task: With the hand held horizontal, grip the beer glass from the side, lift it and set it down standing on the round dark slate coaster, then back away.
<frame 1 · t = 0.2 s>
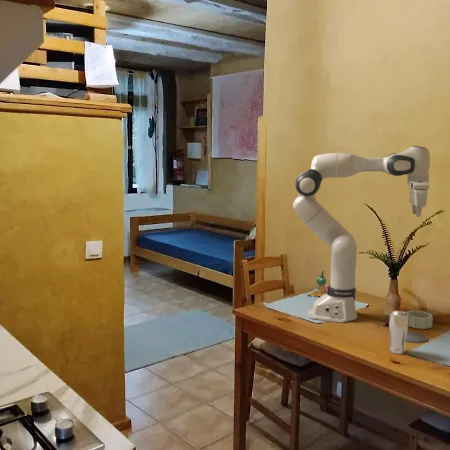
hand: (416, 215, 220), 48 cm above the table, fingers open, 8 cm apart
bowl: (418, 325, 221), on the table
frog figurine: (323, 295, 268), on the table
coaster: (412, 337, 207), on the table
beer glass: (397, 351, 193), on the table
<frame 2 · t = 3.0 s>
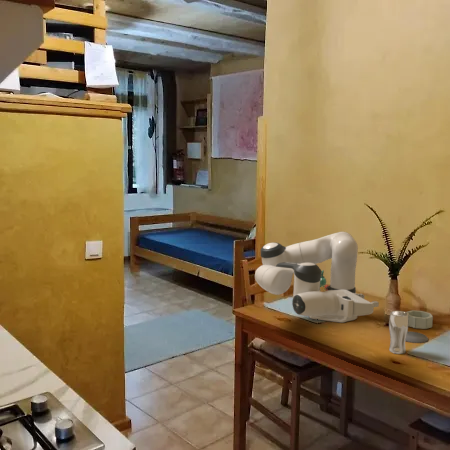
hand: (370, 300, 186), 21 cm above the table, fingers open, 8 cm apart
nothing on the table moved.
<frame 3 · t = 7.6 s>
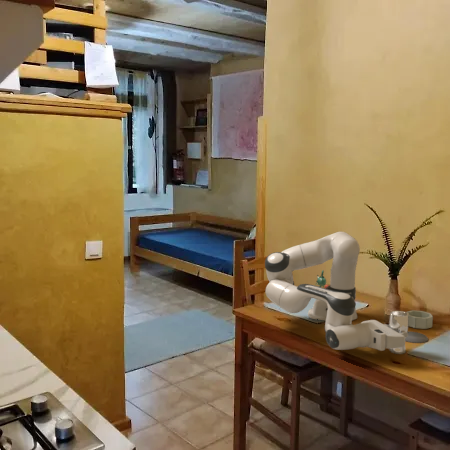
hand: (400, 330, 192), 8 cm above the table, fingers closed on beer glass, 6 cm apart
beer glass: (397, 351, 193), on the table, touching gripper
everything else where it was.
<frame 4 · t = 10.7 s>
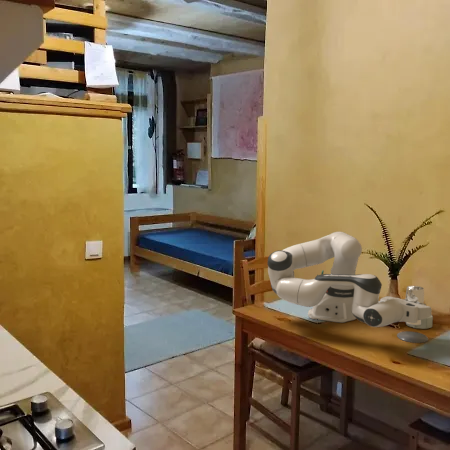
hand: (415, 303, 205), 15 cm above the table, fingers closed on beer glass, 6 cm apart
beer glass: (413, 323, 205), point 6 cm above the table, touching gripper
everything else where it was.
when the fingers open (10 cm above the table, at t = 12.1 s): beer glass moves 2 cm, resting on coaster.
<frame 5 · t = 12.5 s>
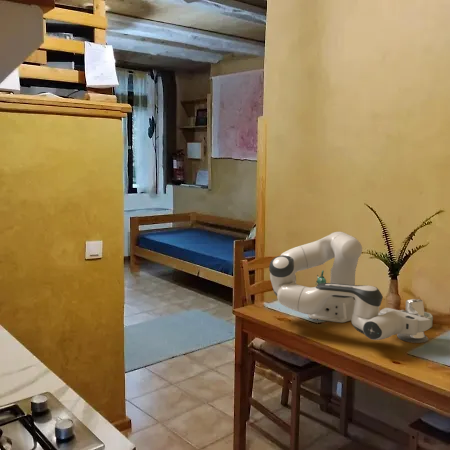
hand: (414, 314, 206), 10 cm above the table, fingers open, 8 cm apart
beer glass: (416, 337, 205), point 1 cm above the table, touching coaster, gripper
everything else where it was.
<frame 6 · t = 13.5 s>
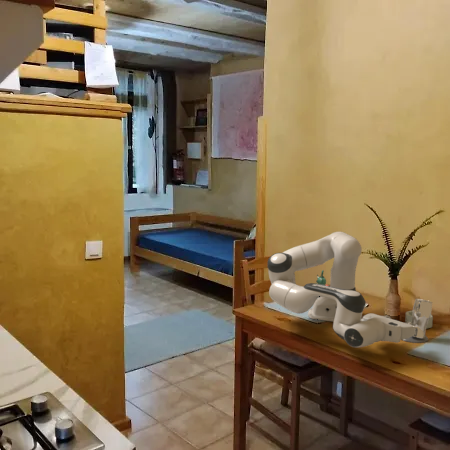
hand: (399, 320, 199), 9 cm above the table, fingers open, 8 cm apart
beer glass: (416, 336, 205), point 1 cm above the table, touching coaster
everything else where it was.
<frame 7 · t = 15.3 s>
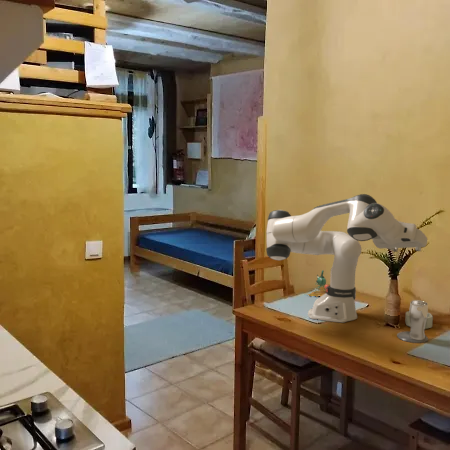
hand: (407, 249, 198), 37 cm above the table, fingers open, 8 cm apart
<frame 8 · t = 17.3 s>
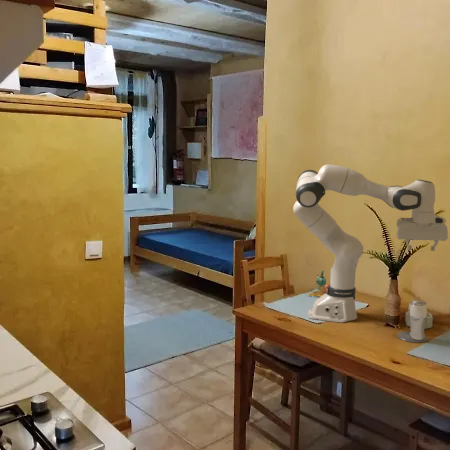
hand: (420, 250, 214), 34 cm above the table, fingers open, 8 cm apart
at the end: beer glass 2.0 cm from the coaster (horizontally); beer glass tilted 1°; the gripper is holding nothing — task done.
